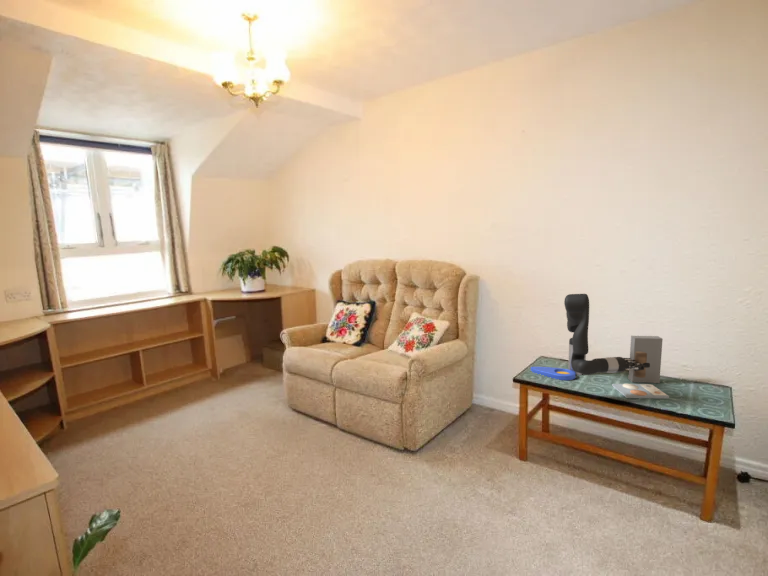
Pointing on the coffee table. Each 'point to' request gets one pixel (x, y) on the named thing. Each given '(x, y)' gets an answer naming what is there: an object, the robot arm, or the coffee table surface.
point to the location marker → (555, 372)
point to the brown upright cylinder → (640, 358)
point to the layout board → (639, 391)
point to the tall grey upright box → (653, 350)
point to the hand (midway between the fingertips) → (645, 363)
